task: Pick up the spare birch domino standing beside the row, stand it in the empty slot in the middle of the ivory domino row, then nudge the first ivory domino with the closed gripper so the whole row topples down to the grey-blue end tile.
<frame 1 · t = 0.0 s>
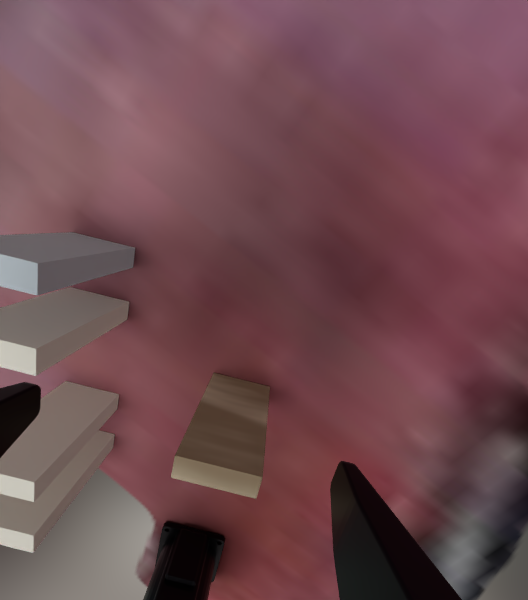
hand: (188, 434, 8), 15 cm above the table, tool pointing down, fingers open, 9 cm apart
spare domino: (239, 387, 24), on the table
domino 2: (91, 395, 26), on the table
domino 1: (88, 434, 27), on the table
domino 5: (103, 250, 22), on the table
domino 4: (99, 303, 23), on the table
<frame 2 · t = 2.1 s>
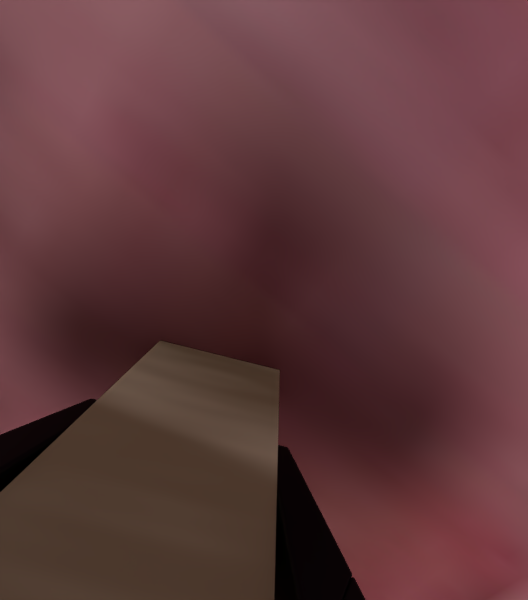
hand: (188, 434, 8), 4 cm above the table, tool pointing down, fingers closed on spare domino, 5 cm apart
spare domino: (216, 372, 12), on the table, touching gripper
when the fingers open (5 cm above the table, at t = 6.7 s): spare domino stays where it is, on the table.
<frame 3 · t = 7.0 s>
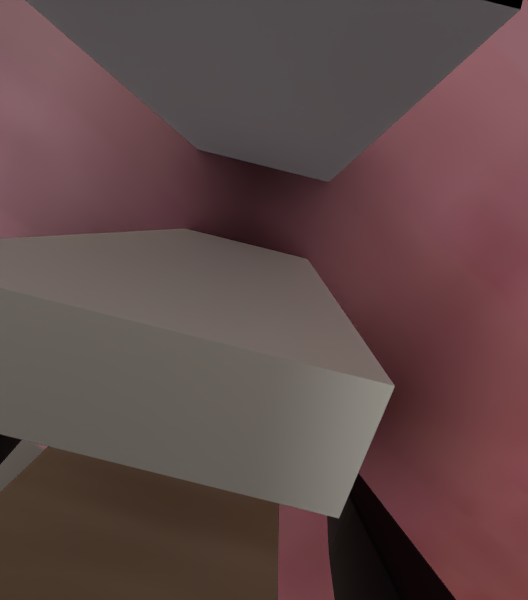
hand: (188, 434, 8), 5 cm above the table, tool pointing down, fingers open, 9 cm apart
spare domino: (222, 360, 13), on the table
domino 5: (268, 142, 10), on the table
domino 4: (242, 263, 11), on the table
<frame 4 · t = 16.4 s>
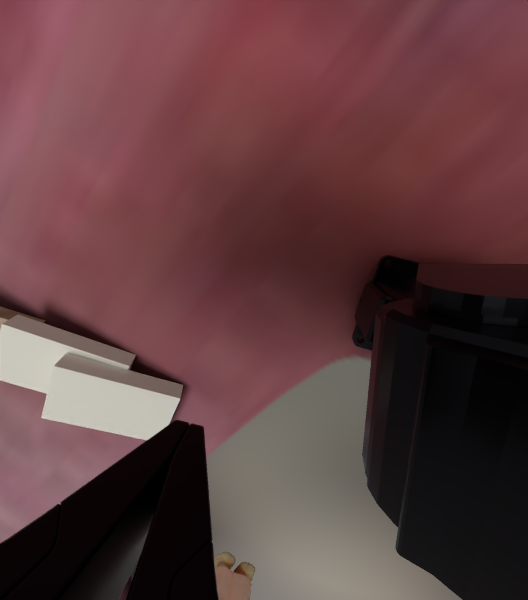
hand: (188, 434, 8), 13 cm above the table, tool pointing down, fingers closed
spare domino: (32, 349, 24), point 1 cm above the table, tilted 70°, touching domino 2, domino 4
domino 2: (123, 383, 24), point 1 cm above the table, tilted 74°, touching domino 1, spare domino
domino 1: (172, 414, 23), point 1 cm above the table, tilted 73°, touching domino 2
grandmother figurine: (239, 566, 28), on the table
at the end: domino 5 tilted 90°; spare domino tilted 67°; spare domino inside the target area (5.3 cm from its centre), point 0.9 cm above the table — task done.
